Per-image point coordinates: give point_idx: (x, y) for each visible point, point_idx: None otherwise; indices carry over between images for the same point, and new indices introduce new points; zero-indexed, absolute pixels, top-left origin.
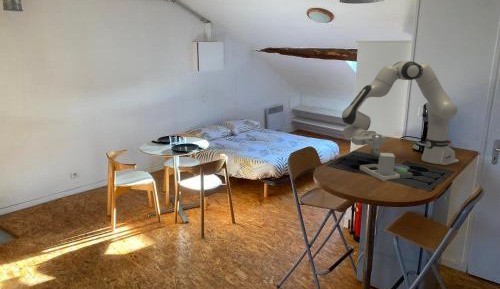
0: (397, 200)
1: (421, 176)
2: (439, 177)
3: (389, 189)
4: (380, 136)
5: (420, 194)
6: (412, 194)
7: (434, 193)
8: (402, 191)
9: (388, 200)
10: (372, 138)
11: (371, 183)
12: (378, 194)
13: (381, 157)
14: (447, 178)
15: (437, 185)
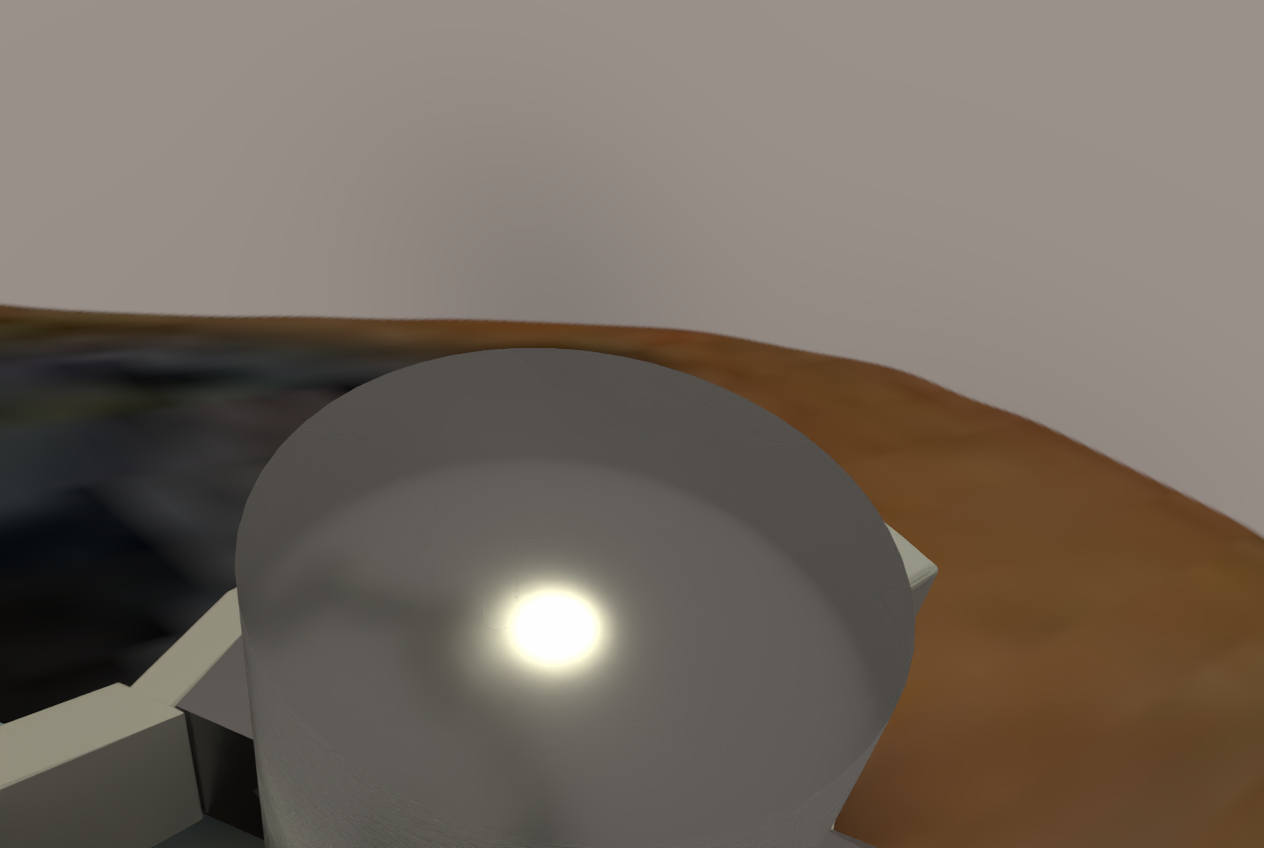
0: (1118, 465)
1: (160, 492)
2: (66, 363)
3: (990, 593)
4: (599, 367)
5: (799, 388)
6: (869, 425)
7: (664, 331)
8: (896, 494)
9: (1206, 508)
10: (829, 825)
11: (1082, 841)
12: (1223, 615)
13: (923, 588)
14: (58, 314)
15: (412, 342)
